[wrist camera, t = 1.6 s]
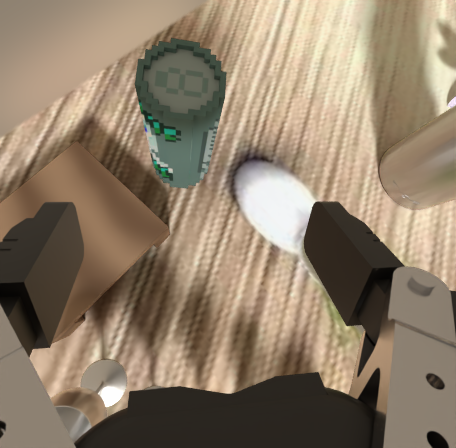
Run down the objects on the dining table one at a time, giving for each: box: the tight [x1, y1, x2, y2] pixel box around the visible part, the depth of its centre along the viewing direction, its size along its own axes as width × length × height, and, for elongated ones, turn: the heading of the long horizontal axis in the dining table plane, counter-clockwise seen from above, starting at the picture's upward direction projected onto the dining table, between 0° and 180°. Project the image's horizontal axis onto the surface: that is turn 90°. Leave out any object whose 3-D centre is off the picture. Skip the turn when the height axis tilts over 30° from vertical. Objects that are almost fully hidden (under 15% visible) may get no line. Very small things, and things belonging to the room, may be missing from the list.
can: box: [135, 38, 226, 188], centre depth 28 cm, size 6×6×15 cm
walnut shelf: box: [0, 141, 170, 343], centre depth 30 cm, size 14×12×5 cm
